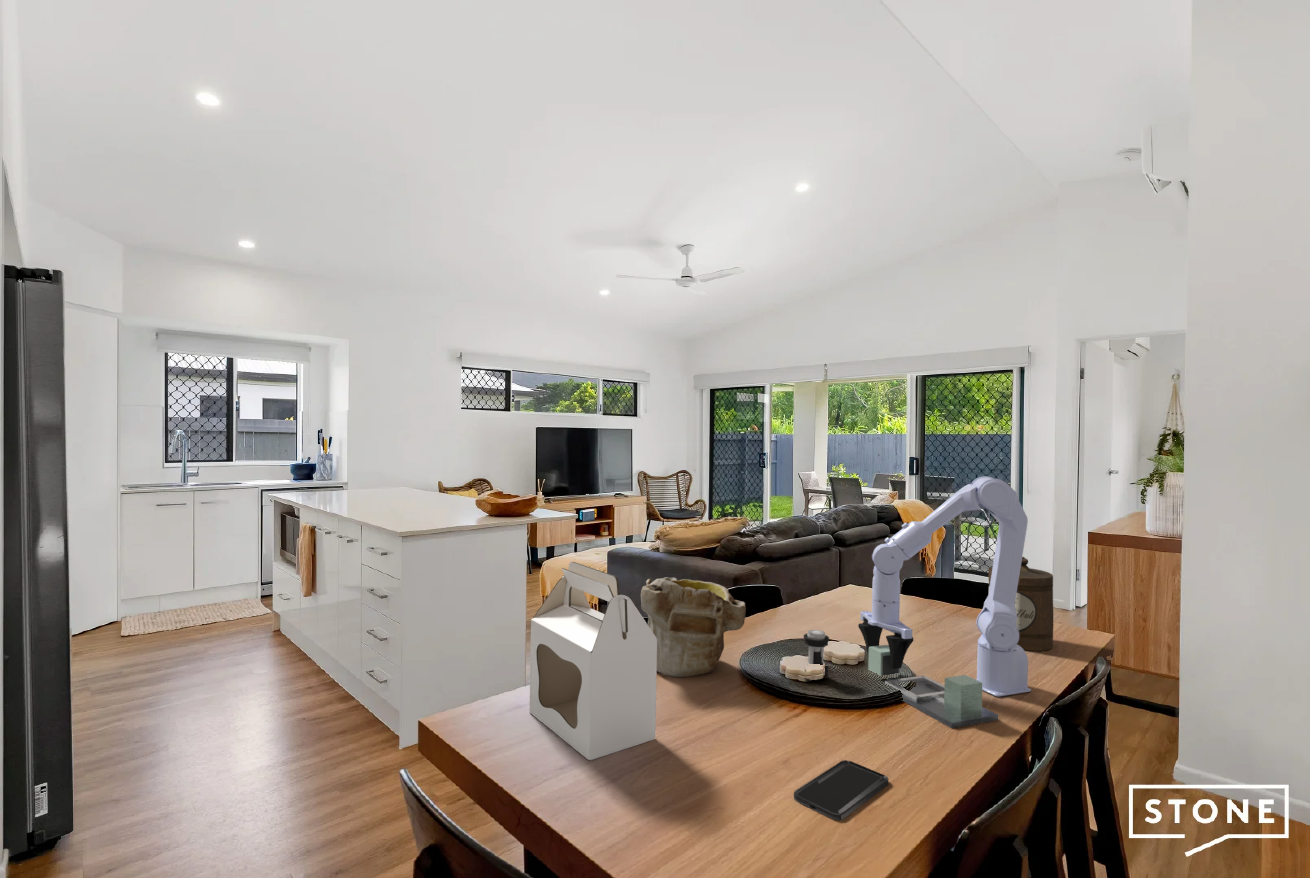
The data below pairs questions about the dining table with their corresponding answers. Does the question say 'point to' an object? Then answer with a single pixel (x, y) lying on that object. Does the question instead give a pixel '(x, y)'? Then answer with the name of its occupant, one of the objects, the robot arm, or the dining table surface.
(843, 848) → the dining table surface
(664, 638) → the ceramic vessel
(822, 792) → the phone
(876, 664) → the block
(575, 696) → the gable box
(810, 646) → the push button
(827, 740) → the dining table surface
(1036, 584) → the wooden container
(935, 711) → the rail
